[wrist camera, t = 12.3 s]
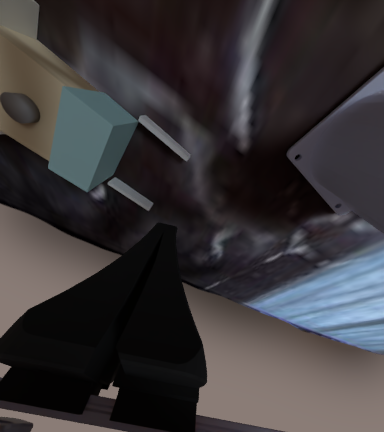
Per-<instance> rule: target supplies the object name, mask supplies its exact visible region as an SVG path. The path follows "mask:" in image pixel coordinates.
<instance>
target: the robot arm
mask: <svg viewBox="0 0 384 432" xmlns="http://www.w3.org/2000/svg"><path fill="white" fill-rule="evenodd" d="M298 154H299V155H300V156H299V158H298V159H295V157H296V155H298ZM287 157H288V159H289V160H290V161H291V162H292V163H293V164H294V165H295V167H296V168H297V169H298V170H299V171H300V172H301V174H302V175H303V176H304V177H305V178H306V179H307V181H308V182H309V183H310V184H311V185H312V186H313V187H314V189H315V190H316V191H317V192H318V193H319V194H320V196H321V197H322V198H323V199H324V200H325V201H326V203H327V204H328V205H329V206H330V207H331V208H332V209H333V211H334V212H335V213H336V214H338V215H344V214H347V213H348V212H350V211H353V212H354V213H356V214H357V215H359V216H360V217H361V218H363V219H364V220H366V221H367V222H368V223H370V224H371V225H373V226H374V227H375V228H377V229H378V230H380V231H381V232H382V233H384V67H383V68H382V69H381V70H380V71H378V72H377V73H376V74H375V75H374V76H373V77H371V78H370V79H369V80H368V81H367V82H366V83H365V84H363V85H362V86H361V87H360V88H359V89H358V90H356V91H355V92H354V93H353V94H352V95H351V96H350V97H348V98H347V99H346V100H345V101H344V102H343V103H341V104H340V105H339V106H338V107H337V108H336V109H335V110H333V111H332V112H331V113H330V114H329V115H328V116H326V117H325V118H324V119H323V120H322V121H321V122H319V123H318V124H317V125H316V126H315V127H314V128H313V129H311V130H310V131H309V132H308V133H307V134H306V135H304V136H303V137H302V138H301V139H300V140H299V141H298V142H296V143H295V144H294V145H293V146H292V147H291V148H289V150H288V151H287ZM337 204H338V205H337ZM176 233H177V227H176V226H172V225H167V224H163V223H157V224H156V225H155V226H154V227H153V228H152V229H151V231H150V232H149V233H148V234H147V235H146V236H144V237H143V238H142V239H141V240H140V241H139V242H138V243H137V244H136V245H134V246H133V247H132V248H131V249H130V250H128V251H127V252H126V253H125V254H123V255H122V256H121V257H119V258H118V259H117V260H115V261H114V262H113V263H111V264H110V265H108V266H106V267H105V268H103V269H102V270H100V271H99V272H98V273H96V274H94V275H92V276H91V277H89V278H87V279H86V280H84V281H82V282H80V283H78V284H77V285H75V286H73V287H72V288H70V289H68V290H66V291H64V292H62V293H60V294H58V295H56V296H54V297H52V298H50V299H48V300H46V301H44V302H42V303H40V304H38V305H36V306H34V307H32V308H30V309H28V310H27V311H26V313H24V314H23V315H22V316H21V317H20V318H19V319H18V320H17V321H16V322H15V323H14V324H13V325H12V326H11V327H10V328H9V329H8V331H7V332H6V333H5V334H4V335H3V336H2V337H1V338H0V363H3V364H6V365H9V366H11V368H10V370H9V371H8V372H7V373H6V374H5V376H4V377H3V378H0V408H2V409H7V410H13V411H18V412H24V413H29V414H35V415H40V416H46V417H51V418H56V419H62V420H67V421H73V422H78V423H84V424H89V425H95V426H100V427H106V428H111V429H117V430H122V431H127V432H283V431H278V430H273V429H268V428H262V427H257V426H252V425H247V424H242V423H237V422H231V421H226V420H221V419H216V418H210V417H205V416H200V415H196V406H197V403H198V400H199V388H200V387H202V386H204V385H205V384H206V383H207V368H206V360H205V355H204V349H203V344H202V341H201V338H200V336H199V333H198V331H197V328H196V325H195V322H194V320H193V317H192V314H191V311H190V309H189V305H188V302H187V298H186V295H185V292H184V288H183V284H182V280H181V276H180V271H179V265H178V259H177V249H176ZM113 381H114V382H113ZM112 382H113V386H114V387H119V391H118V395H117V398H116V399H111V398H105V397H100V396H98V395H99V393H100V390H101V389H106V390H107V389H108V388H109V385H110V383H112ZM32 428H33V423H30V422H27V421H24V420H21V419H16V418H8V417H0V432H30V431H31V429H32Z"/></svg>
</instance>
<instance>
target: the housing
mask: <svg viewBox="0 0 384 432" xmlns="http://www.w3.org/2000/svg"><path fill="white" fill-rule="evenodd" d="M62 86H66V87H72V88H78V89H85V90H91V91H97V92H99V91H98V90H96V89H95V88H94V87H93V86H92V85H90V84H89V83H88V82H87V81H86V80H85V79H83V78H82V77H81V76H80V75H79V74H77V73H76V72H75V71H74V70H73V69H71V68H70V67H69V66H68V65H67V64H65V63H64V62H63V61H62V60H61V59H59V58H58V57H57V56H56V55H55V54H54V53H52V52H51V51H50V50H49V49H48V48H46V47H45V46H44V45H43V44H42V43H40V42H39V41H38V40H36V39H34V38H31V37H29V36H26V35H24V34H21V33H19V32H16V31H14V30H11V29H9V28H6V27H4V26H1V25H0V131H2V132H3V133H5V134H7V135H8V136H10V137H11V138H13V139H15V140H16V141H18V142H19V143H21V144H23V145H24V146H26V147H27V148H29V149H31V150H32V151H34V152H35V153H37V154H39V155H40V156H42V157H43V158H45V159H47V160H48V161H49V160H50V154H51V148H52V143H53V137H54V132H55V126H56V120H57V115H58V109H59V103H60V98H61V92H62Z"/></svg>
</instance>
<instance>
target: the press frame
mask: <svg viewBox="0 0 384 432" xmlns="http://www.w3.org/2000/svg"><path fill="white" fill-rule="evenodd" d="M38 17H39V4H37V3H36V2H35V1H34V0H0V25H1V26H4V27H6V28H9V29H11V30H14V31H16V32H19V33H21V34H24V35H26V36H29V37H31V38H34V39H36V40H37V30H38ZM138 121H139V122H140V123H141V124H143V125H144V126H145V127H146V128H147V129H148V130H150V131H151V132H152V133H153V134H154V135H156V136H157V137H158V138H159V139H160V140H161V141H163V142H164V143H165V144H166V145H167V146H169V147H170V148H171V149H172V150H173V151H174V152H176V153H177V154H178V155H179V156H180V157H182V158H183V159H184V160H185V161H186V162H187V161H188V159H189V158H190V156H191V154H190V153H188V152H187V151H186V150H185V149H184V148H183V147H181V146H180V145H179V144H178V143H177V142H176V141H175V140H173V139H172V138H171V137H170V136H169V135H168V134H167V133H165V132H164V131H163V130H162V129H161V128H160V127H159V126H157V125H156V124H155V123H154V122H153V121H152V120H151V119H149V118H148V117H147V116H146V115H144V116H140V117H139V119H138ZM0 134H5V133H3V132H2V131H0ZM108 185H109V186H111V187H113V188H114V189H116V190H117V191H119V192H120V193H122V194H123V195H125V196H126V197H128V198H129V199H131V200H132V201H134V202H135V203H137V204H138V205H140V206H142V207H143V208H145V209H146V210H148V211H149V210H150V208H151V207H152V205H153V202H151V201H150V200H148V199H147V198H145V197H144V196H142V195H141V194H139V193H138V192H136V191H135V190H133V189H132V188H131V187H129V186H128V185H126V184H125V183H123V182H122V181H120V180H119V179H117V178H116V177H114V178H113V179H112V180H110V181H109V182H108Z"/></svg>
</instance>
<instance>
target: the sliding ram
mask: <svg viewBox="0 0 384 432" xmlns="http://www.w3.org/2000/svg"><path fill="white" fill-rule="evenodd" d="M138 122H139V121H137V120H136V119H135V118H134V117H133V116H131V115H130V114H129V113H128V112H127V111H126V110H124V109H123V108H122V107H121V106H120V105H118V104H117V103H116V102H115V101H114V100H112V99H111V98H110V97H109V96H108V95H107V94H105V93H103V92H97V91H91V90H85V89H78V88H72V87H66V86H62V92H61V98H60V103H59V109H58V115H57V120H56V126H55V132H54V137H53V143H52V148H51V154H50V160H49V165H48V169H50V170H52V171H53V172H55V173H56V174H58V175H60V176H61V177H63V178H65V179H66V180H68V181H70V182H71V183H73V184H74V185H76V186H78V187H79V188H81V189H83V190H84V191H86V192H88V191H90V190H91V189H93V188H94V187H96V186H97V185H99V184H100V183H102V182H103V181H105V180H106V179H108V178H109V177H111V176H112V175H113V174H114V172H115V170H116V168H117V166H118V164H119V162H120V160H121V158H122V155H123V153H124V151H125V149H126V147H127V145H128V143H129V141H130V139H131V137H132V135H133V133H134V131H135V129H136V126H137V124H138Z"/></svg>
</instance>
